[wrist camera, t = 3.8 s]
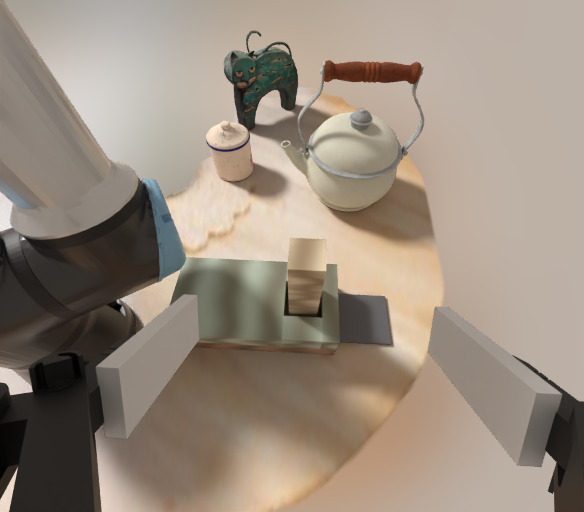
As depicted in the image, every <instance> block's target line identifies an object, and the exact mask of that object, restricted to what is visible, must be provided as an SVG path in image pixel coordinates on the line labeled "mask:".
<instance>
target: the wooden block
mask: <svg viewBox="0 0 584 512" xmlns="http://www.w3.org/2000/svg"><path fill="white" fill-rule="evenodd" d="M325 275H326V240H325V239H303V238H290V244H289V257H288V299H289V316H299V317H317V312H318V307H319V303H320V298H321V294H322V289H323V285H324V280H325Z"/></svg>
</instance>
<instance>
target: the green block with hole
mask: <svg viewBox="0 0 584 512" xmlns="http://www.w3.org/2000/svg"><path fill="white" fill-rule="evenodd" d="M184 294H187V295H197V302H198V325H199V341H198V342H197V343H196V345H195V346H194V347H207V348H225V349H242V350H259V351H277V352H294V353H312V354H329V355H333V354H334V352H335V351H336V349H337V347H338V345H339V344H340V331H339V304H338V278H337V264H326V275H325V280H324V285H323V289H322V294H321V298H320V303H319V307H318V312H317V317H299V316H289V299H288V262H274V261H253V260H232V259H211V258H190V257H186V261H185V264H184V265H183V266H182V268H181V271H180V274H179V277H178V280H177V284H176V287H175V290H174V293H173V296H172V300H171V303H170V305H171V304H173V303H174V302H175V301H176V300H177V299H179V298H180V297H181V296H182V295H184Z"/></svg>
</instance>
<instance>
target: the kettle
mask: <svg viewBox="0 0 584 512" xmlns="http://www.w3.org/2000/svg"><path fill="white" fill-rule="evenodd" d="M423 68H424V66H423V64H422V63H417V62H415V63H413V64H412V65H403V64H397V63H391V62H384V63H379V62H376V63H374V62H371V63H370V62H366V63H364V62H347V63H340V64H334V63H333V62H332V61H326V62H325V61H323V68H322V69H321V70H320V73H321V74H322V80H321V85H320V88H319V90H318V91H317V92H316V93H315V95H314V96H313V97H312V98H311V99H310V100H309V101H308V102H307V104H306V105H305V106H304V107H303V109H302V110H301V112H300V114H299V117H298V133H299V137H300V139H301V142H302V144H303V146H304V148H301V149H300V152H301V153H300V152H299V151H298V150H297V149H296V148H295V147H294V146H293V145H292V144H291V143H290V141H283V142H282V143H281V146H282V148H283V149H284V151H285V152H286V154H287V155H288V157H289V158H290V160H291V161H292V163H293V164H294V165H295V166H296V168H297V169H299V170H300V171H301V172H302V173H303V174H304V175H305V176H306V178H307V180H308V182H309V184H310V186H311V188H312V189H313V191H314V192H315V194H316V196H317V197H318V198H319V200H320V201H321V202H323V203H324V204H325V205H327V206H328V207H330V208H333V209H336V210H339V211H349V212H350V211H358V210H362V209H364V208H366V207H368V206H369V205H371V204H372V203H374V202H376V201H378V200H379V199H381V198H382V197H383V196H384V195H385V194H386V193H387V192H388V191H389V190H390V188H391V186H392V184H393V182H394V180H395V176H396V171H397V165H398V164H399V162H400V160H402V158H403V156H406V155H407V154H408V152H407V151H406V150H407V149H408V148H409V147H410V146H411V145H412V144H413V142H414V141H415V140H416V139H417V137H418V136H419V134H420V133H421V131H422V129H423V126H424V117H423V113H422V110H421V108H420V105H419V103H418V100H417V98H416V95H415V94H416V88H417V85H418V82H419V79H420V76H421V75H422V74H423V73H422V71H423ZM333 79H338V80H343V81H350V82H361V81H363V82H381V83H389V82H398V81H408V82H409V83H410V84H413V86H412V93H413V96H414V99H415V102H416V104H417V106H418V109H419V111H420V115H421V121H420V125H419V126H418V128H417V130H416V132H415V133H414V134H413V136H412V137H411V138H410V139H409V140H408V142H407V143H406V144H405V145H404V146H403V148H402V149H401V145H400V143H399V141H398V140H397V137H396V134H395V132H394V131H393V129H392V128H391V127H390V126H389V125H388V124H387V123H386V122H385V121H383V120H382V119H380V118H378V117H375V116H373V115H371V114H370V113H369V112H368V111H367V110H365V109H358V110H356V111H354V112H348V113H342V114H338V115H336V116H333V117H331V118H329V119H328V120H326V121H325V122H324V123H323V124H322V125H321V126H320V127H319V128H318V129H317V130H315V132H314V133H313V134H312V135H311V137H310V139H309V143H308V148H306V143H305V140H304V138H303V136H302V133H301V130H300V124H299V123H300V119H301V117H302V116H303V114H304V113H305V112H306V110H307V109H308V108H309V107H310V106H311V105H312V104H313V102H314V101H315V100H316V99H317V98H318V97H319V96H320V94H321V92H322V89H323V84H324V81H325V82H329V81H331V80H333ZM302 152H303V153H304V154H302ZM306 153H307V154H306Z"/></svg>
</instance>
